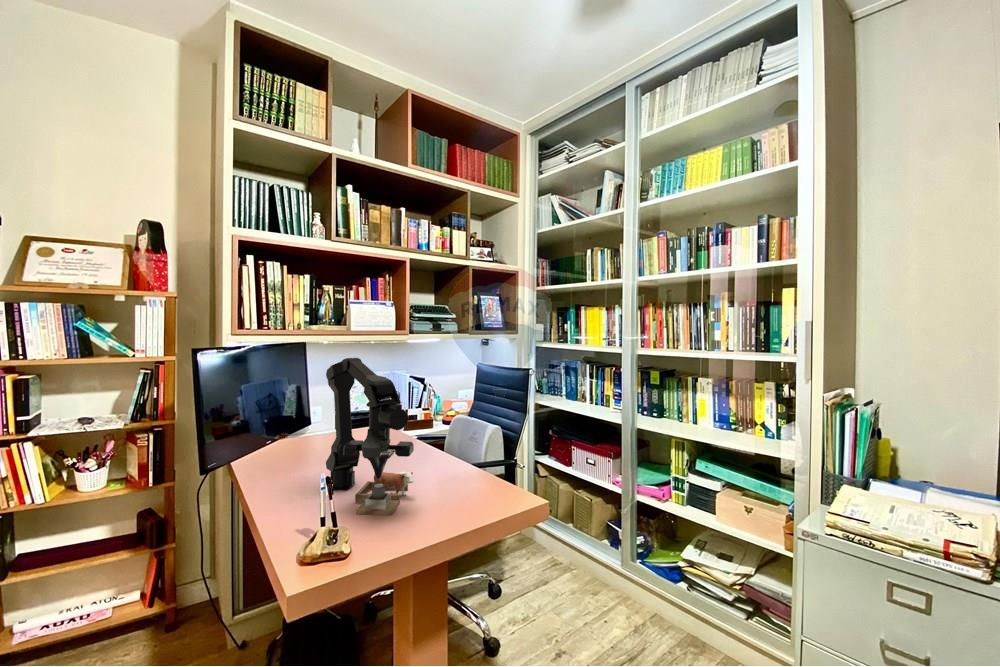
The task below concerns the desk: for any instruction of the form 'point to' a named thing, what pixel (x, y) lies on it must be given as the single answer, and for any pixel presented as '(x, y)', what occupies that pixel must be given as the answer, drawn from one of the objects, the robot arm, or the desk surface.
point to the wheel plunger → (378, 491)
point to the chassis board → (377, 501)
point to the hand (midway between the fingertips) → (378, 478)
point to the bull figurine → (395, 480)
